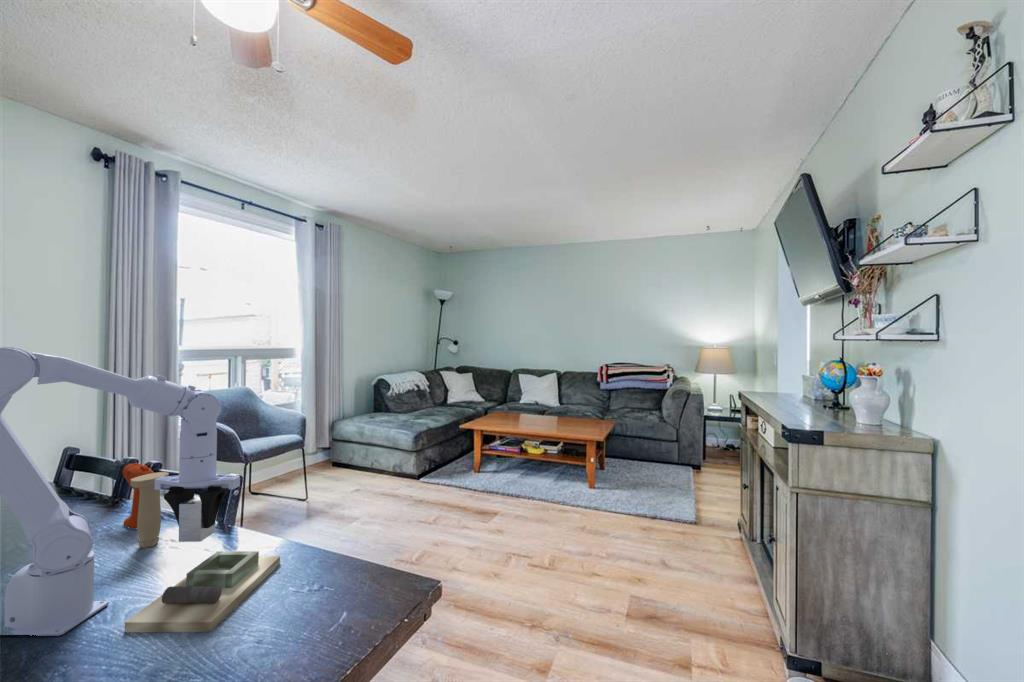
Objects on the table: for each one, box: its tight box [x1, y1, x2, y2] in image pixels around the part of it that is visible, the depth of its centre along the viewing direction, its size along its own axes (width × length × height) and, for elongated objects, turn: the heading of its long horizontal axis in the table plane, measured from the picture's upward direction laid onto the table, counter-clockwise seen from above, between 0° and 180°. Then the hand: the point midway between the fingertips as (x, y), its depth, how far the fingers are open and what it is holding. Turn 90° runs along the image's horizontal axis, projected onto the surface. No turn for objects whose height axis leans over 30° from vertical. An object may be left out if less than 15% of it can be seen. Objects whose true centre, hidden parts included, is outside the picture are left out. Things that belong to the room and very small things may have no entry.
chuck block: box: [124, 550, 281, 633], centre depth 74 cm, size 13×20×4 cm, turn 1°
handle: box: [130, 471, 170, 549], centre depth 92 cm, size 5×6×15 cm
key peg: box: [178, 495, 216, 543], centre depth 80 cm, size 4×4×7 cm
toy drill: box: [114, 459, 155, 529], centre depth 104 cm, size 5×19×15 cm, turn 62°
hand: (197, 526), depth 80 cm, fingers closed on key peg, 4 cm apart
